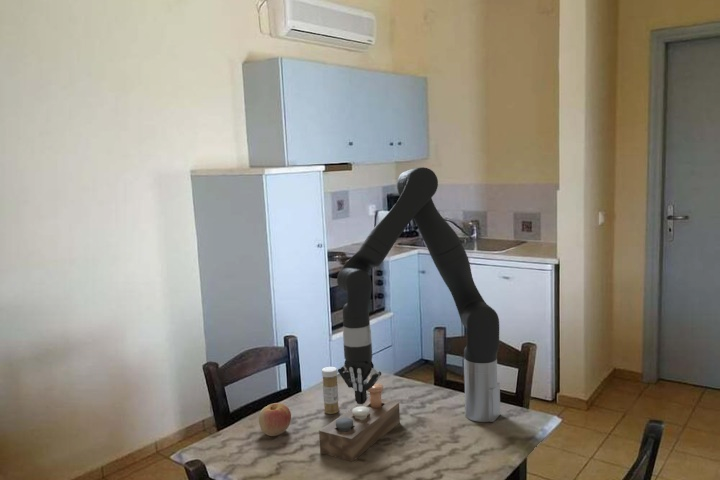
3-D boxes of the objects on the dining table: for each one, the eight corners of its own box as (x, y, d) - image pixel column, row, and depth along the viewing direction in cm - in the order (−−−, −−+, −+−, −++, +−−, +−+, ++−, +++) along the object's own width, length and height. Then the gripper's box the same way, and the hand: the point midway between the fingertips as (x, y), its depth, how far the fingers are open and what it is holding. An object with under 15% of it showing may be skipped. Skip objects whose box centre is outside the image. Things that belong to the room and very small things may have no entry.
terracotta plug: (387, 408, 169) (386, 384, 168) (379, 414, 165) (378, 390, 164) (373, 405, 171) (372, 382, 170) (365, 411, 167) (363, 387, 167)
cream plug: (373, 432, 163) (372, 408, 162) (364, 439, 159) (363, 414, 158) (359, 429, 165) (358, 405, 164) (350, 436, 161) (348, 411, 160)
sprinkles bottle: (333, 407, 183) (330, 365, 181) (342, 411, 179) (340, 368, 177) (321, 411, 180) (318, 368, 178) (330, 416, 176) (327, 372, 174)
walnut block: (399, 422, 170) (399, 402, 169) (352, 461, 149) (351, 438, 148) (369, 415, 175) (369, 396, 174) (320, 452, 154) (319, 430, 153)
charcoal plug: (357, 445, 156) (356, 419, 155) (348, 452, 152) (346, 426, 151) (343, 441, 158) (342, 416, 158) (333, 448, 155) (332, 423, 154)
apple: (297, 428, 169) (295, 401, 168) (280, 442, 161) (278, 414, 160) (271, 424, 173) (269, 398, 172) (253, 437, 165) (251, 410, 164)
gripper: (386, 340, 158) (389, 402, 160) (344, 334, 165) (348, 394, 167) (371, 348, 152) (375, 412, 154) (329, 342, 159) (333, 404, 161)
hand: (361, 403), depth 161 cm, fingers closed
